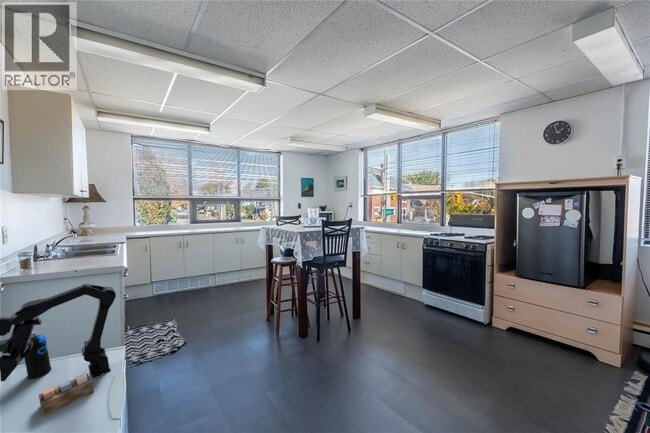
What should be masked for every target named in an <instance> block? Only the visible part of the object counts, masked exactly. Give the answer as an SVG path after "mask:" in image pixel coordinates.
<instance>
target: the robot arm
mask: <svg viewBox="0 0 650 433" xmlns="http://www.w3.org/2000/svg"><path fill="white" fill-rule="evenodd" d="M83 296H89V297H92V298H94V299H98V308H97V312H96V315H95V318H94V322H93V326H92V330H91V332H90V333H91V334H90V337H89V339H88V340H84V341H83V346H82V348H81V356H82V357H83V360H84V361H85V362H86V363H89V364H88V371H89V372H88V373H89V375H90V376H92V378H93V379H96V378H97V377H100V376H101V375H104V374H107V373H109V372H111V371H112V370H111V368H110V364H109V357H108V355H107V352H106V349H105V348H104V347H102V346H101V344H102V343H101V342H102V336H103V332H104V329H105V326H106V325H105V324H106V322H107V317H108V315H109V310H110V308H111V307H112V305H113V304H114V302H115V299H116V297H117V294H116V290H115V289H114V288H113V287H112V286H109V285H108V286H101V285H98V284H97V285H95V284H91V283H82V284H81V285H79V286H77V287H73V288H70V289H68V290H65V291H63V292H60V293H58V294H56V295H53V296H50V297H47V298H40V299H36V300H31V301H27V302H25V303H23V304H22V305H21V306H20V308H19V310H17V311H16V312H14V313H13V314H12V315H11V316H10V317H4V316H3V317H0V336H1V337H4V336H6V335H8V334H9V333H10V332H11V335H10V337H9V338H8V339H3V340H0V353H2V355H1V356H0V382H5V381H6V380H7V379H8V378H9V377H10V376H11V374H12V373H13V372H14V370H15V369H16V368H17V366H18V365H19V364H20V363H21V362H22V361H23V360H24V357H25V356H26V354H27V353H28V352H29V351H30V350H31V348H32V346H33V343H34V342H33V341H32V340H30V339H31V337H32V335H31V334H32V332H34V327H35V326H41V325H42V319H40V317H39V316H40V315H43V314H44V313H45V312H47V311H49V310H51V309H53V308H55V307H57V306H60V305H62V304H65V303H68V302H70V301H72V300H75V299H77V298H80V297H83ZM12 326H13V328H12ZM11 329H12V331H11ZM28 347H29V348H28Z"/></svg>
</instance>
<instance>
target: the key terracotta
mask: <svg viewBox="0 0 650 433" xmlns="http://www.w3.org/2000/svg"><path fill="white" fill-rule="evenodd" d="M54 388H55V387H54V386H51V387H49V388H47V389H44V390H42V391H41V393H43V398H44V400H46V399H48V398H50V397H53V396H55V390H54Z"/></svg>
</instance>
